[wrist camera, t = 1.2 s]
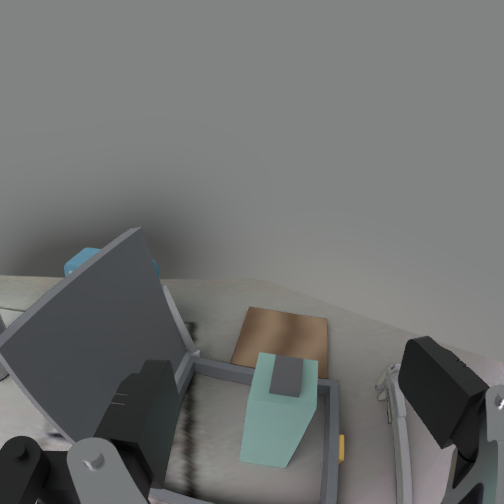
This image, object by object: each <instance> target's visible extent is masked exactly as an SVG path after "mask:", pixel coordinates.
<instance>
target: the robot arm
mask: <svg viewBox="0 0 504 504" xmlns="http://www.w3.org/2000/svg"><path fill="white" fill-rule="evenodd" d="M5 330H6V326H5V324H4V322H3V320H2V317H1V315H0V335H1V334H2V333H3V332H4V331H5ZM8 374H9V373H8V372H7V370H6V369H5V368H4V366H3V365H2V363H1V362H0V380H1V379H3V378H4V377H6V376H7V375H8ZM398 384H399V388H400V390H401V392H402V393H403V394H404V396H405V397H406V399H407V400H408V401H409V403H410V404H411V406H412V407H413V408H414V410H415V411H416V413H417V414H418V416H419V417H420V418H421V420H422V421H423V423H424V424H425V426H426V427H427V429H428V430H429V431H430V433H431V434H432V436H433V437H434V439H435V440H436V442H437V443H438V445H439V446H440V448H441V449H444V448H446V447H448V446H450V445H452V444H455V445H456V448H455V449H454V451H453V455H452V461H451V467H450V473H449V478H448V483H447V488H446V492H445V496H444V498H443V500H442V502H441V504H504V385H495V386H492V387H489V386H488V385H487V384H486V383H485V382H484V381H483V380H482V379H481V378H480V377H479V376H478V375H476V374H475V373H474V372H473V371H472V370H471V369H470V368H469V367H466V364H465V363H463V362H462V361H460V359H459V358H458V357H457V356H456V355H455V354H454V353H452V352H451V351H449V350H447V349H445V348H443V347H441V346H440V345H438V344H437V343H436V342H435V341H434V340H433V339H432V338H430V337H429V336H424V337H419V338H415V339H410V340H409V341H408V342H407V344H406V347H405V351H404V355H403V359H402V363H401V367H400V370H399V374H398ZM179 409H180V402H179V394H178V390H177V386H176V381H175V377H174V372H173V368H172V364H171V362H170V360H154V359H147V360H146V361H145V363H144V365H143V367H142V369H141V371H140V373H139V374H137V373H132V374H130V375H129V376H128V377H127V378H125V379H124V380H123V381H122V382H121V383H120V385H119V387H118V389H117V391H116V395H114V397H113V398H112V400H111V404H109V406H108V408H107V410H106V412H105V414H104V416H103V418H102V420H101V422H100V424H99V426H98V428H97V430H96V432H95V434H94V436H93V437H92V438H86V439H83V440H80V441H78V442H76V443H75V444H74V445H73V446H72V447H71V448H70V449H69V451H43V450H42V449H41V448H40V446H39V445H38V443H37V442H36V441H35V440H34V439H32V438H30V437H27V436H17V437H14V438H12V439H10V440H8V441H7V442H6V443H5V444H4V445H3V447H2V448H1V450H0V504H35V503H36V501H37V504H151V503H150V501H149V500H148V496H149V492H150V488H153V489H161V490H163V485H164V480H165V475H166V470H167V465H168V460H169V456H170V451H171V447H172V442H173V437H174V433H175V428H176V424H177V420H178V415H179Z"/></svg>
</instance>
